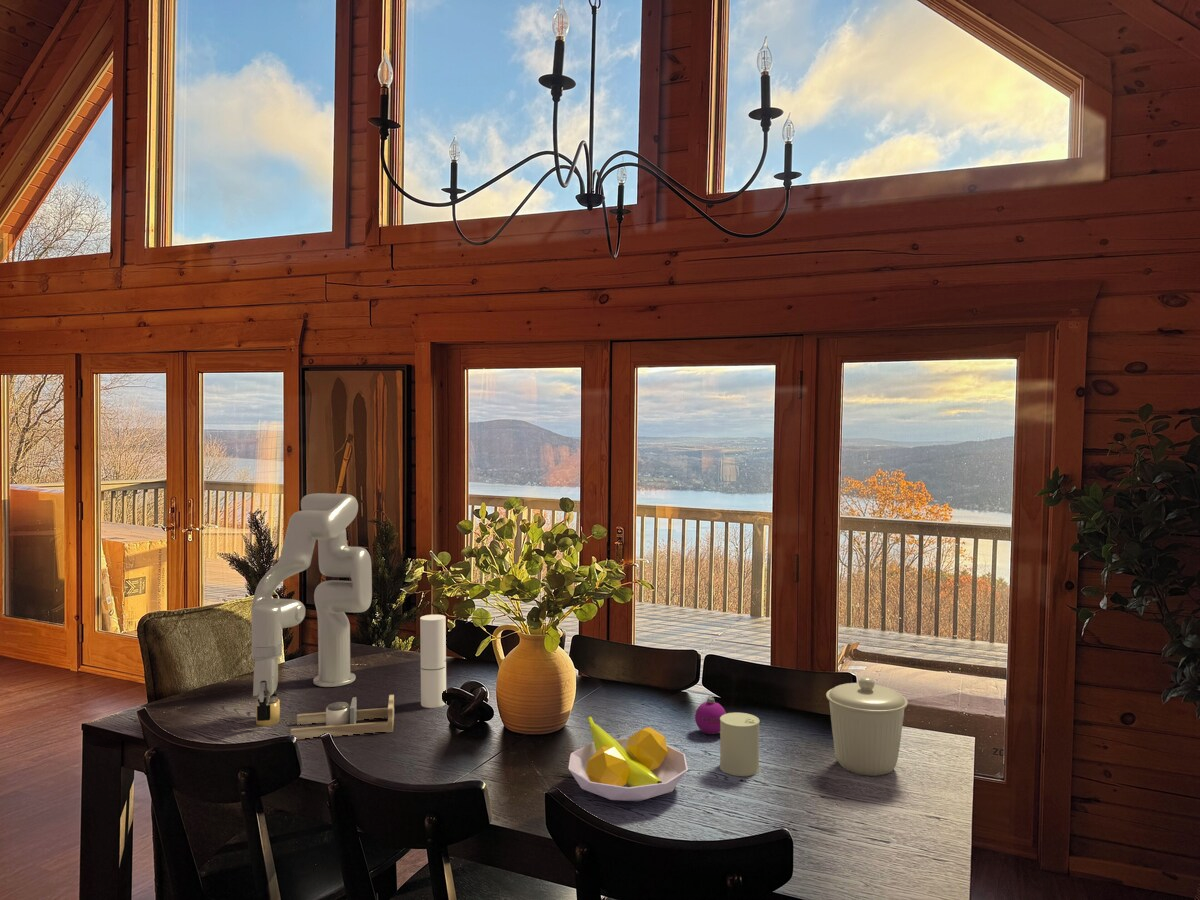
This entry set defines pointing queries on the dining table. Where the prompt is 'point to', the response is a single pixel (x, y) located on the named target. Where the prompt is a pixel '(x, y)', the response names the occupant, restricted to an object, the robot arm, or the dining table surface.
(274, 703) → the amber jar
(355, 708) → the pusher
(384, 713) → the lane
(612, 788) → the fruit bowl
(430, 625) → the cylindrical container
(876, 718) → the canister
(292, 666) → the dining table surface
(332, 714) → the cream jar
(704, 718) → the christmas ornament
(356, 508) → the robot arm
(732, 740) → the can
